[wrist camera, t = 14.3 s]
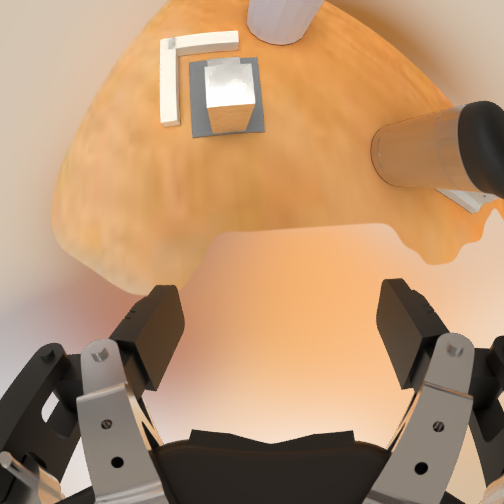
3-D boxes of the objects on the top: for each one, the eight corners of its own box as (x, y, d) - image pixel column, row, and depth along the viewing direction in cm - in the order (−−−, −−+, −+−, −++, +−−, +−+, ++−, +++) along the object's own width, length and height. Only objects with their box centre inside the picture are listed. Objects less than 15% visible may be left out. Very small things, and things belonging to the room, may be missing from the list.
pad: (257, 58, 30) (257, 57, 30) (264, 131, 33) (264, 131, 32) (189, 63, 29) (189, 62, 29) (192, 137, 32) (192, 137, 32)
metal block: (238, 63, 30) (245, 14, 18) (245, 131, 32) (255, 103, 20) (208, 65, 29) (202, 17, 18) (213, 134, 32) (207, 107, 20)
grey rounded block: (415, 177, 35) (461, 155, 26) (415, 152, 36) (457, 127, 26) (472, 214, 38) (512, 203, 28) (471, 191, 39) (509, 178, 29)
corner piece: (236, 39, 29) (237, 30, 27) (243, 118, 32) (244, 113, 29) (164, 47, 28) (160, 39, 26) (165, 127, 31) (160, 122, 29)
